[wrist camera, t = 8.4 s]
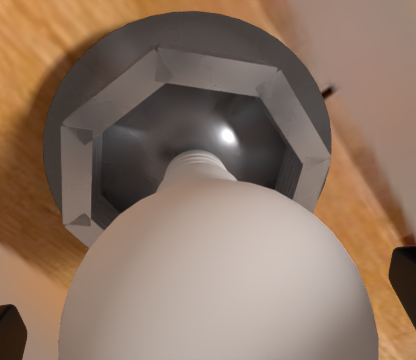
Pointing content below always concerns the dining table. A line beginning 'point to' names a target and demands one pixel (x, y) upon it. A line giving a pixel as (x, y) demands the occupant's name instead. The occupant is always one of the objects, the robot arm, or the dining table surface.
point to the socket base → (181, 116)
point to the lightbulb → (216, 278)
